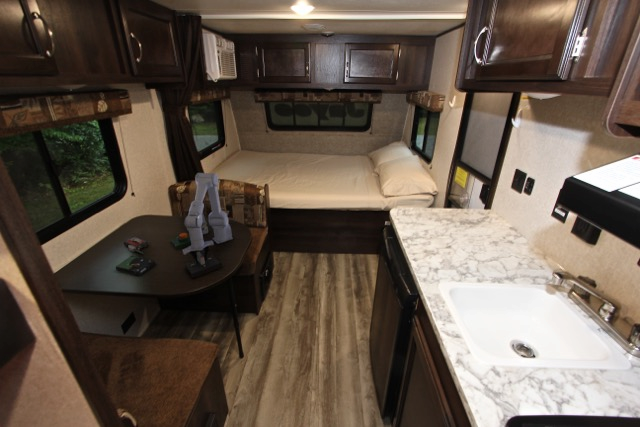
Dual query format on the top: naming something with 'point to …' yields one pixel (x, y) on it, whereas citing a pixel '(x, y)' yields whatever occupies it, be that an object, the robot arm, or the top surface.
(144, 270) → the disk drive
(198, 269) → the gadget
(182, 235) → the button
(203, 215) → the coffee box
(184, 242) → the control block
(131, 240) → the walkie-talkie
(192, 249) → the robot arm
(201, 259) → the pale grey block
